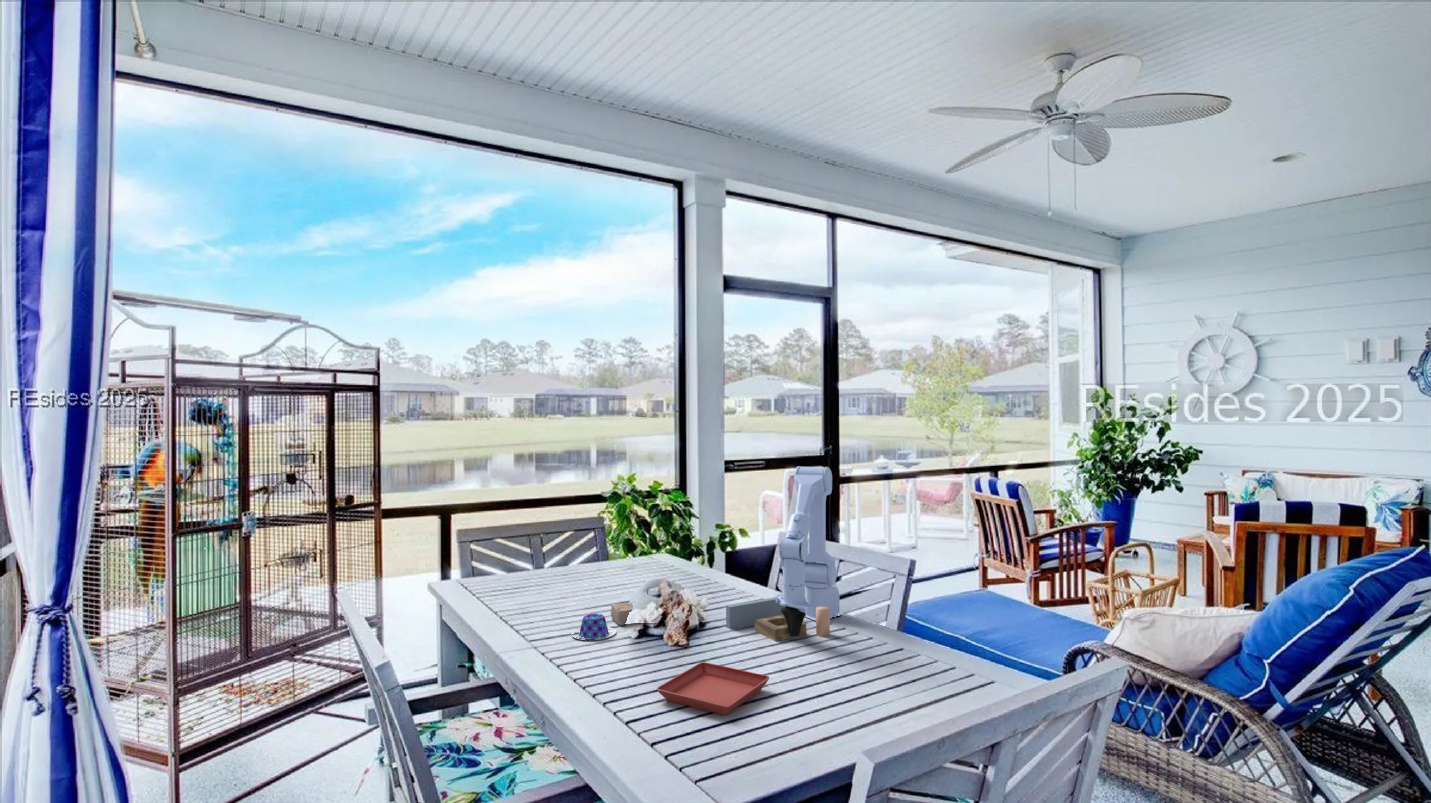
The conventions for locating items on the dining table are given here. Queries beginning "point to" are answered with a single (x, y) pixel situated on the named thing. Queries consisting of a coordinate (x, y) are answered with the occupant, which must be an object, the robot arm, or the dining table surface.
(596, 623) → the pudding
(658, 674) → the dining table surface
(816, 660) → the dining table surface
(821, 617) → the dowel
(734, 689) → the plant saucer
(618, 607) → the brick
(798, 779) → the dining table surface
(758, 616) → the wall
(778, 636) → the socket block
